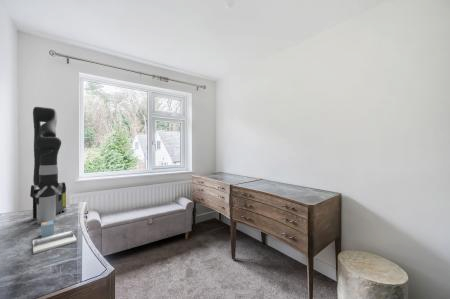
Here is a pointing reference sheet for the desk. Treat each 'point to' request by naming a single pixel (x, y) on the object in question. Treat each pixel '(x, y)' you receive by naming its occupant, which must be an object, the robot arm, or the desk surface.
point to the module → (47, 228)
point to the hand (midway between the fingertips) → (48, 202)
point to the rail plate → (53, 241)
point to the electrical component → (59, 204)
